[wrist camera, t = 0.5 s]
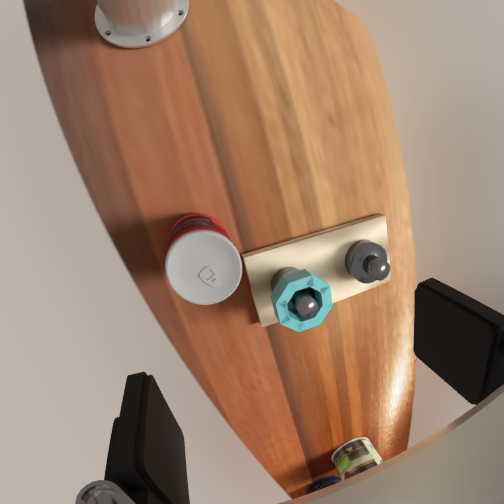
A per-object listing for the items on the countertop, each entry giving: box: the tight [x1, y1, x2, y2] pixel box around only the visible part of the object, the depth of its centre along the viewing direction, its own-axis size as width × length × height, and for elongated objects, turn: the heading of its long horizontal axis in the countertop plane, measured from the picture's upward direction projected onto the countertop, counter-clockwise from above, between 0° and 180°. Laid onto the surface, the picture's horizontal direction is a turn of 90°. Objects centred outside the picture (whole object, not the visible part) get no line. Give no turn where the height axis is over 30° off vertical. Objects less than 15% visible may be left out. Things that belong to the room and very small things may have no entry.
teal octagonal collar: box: [270, 269, 333, 332], centre depth 39 cm, size 7×7×2 cm
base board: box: [242, 214, 390, 327], centre depth 46 cm, size 11×22×2 cm, turn 105°
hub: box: [345, 239, 390, 284], centre depth 44 cm, size 6×6×6 cm
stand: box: [270, 267, 318, 318], centre depth 41 cm, size 5×5×8 cm
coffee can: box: [331, 437, 383, 480], centre depth 57 cm, size 10×10×14 cm
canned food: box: [165, 213, 242, 305], centre depth 37 cm, size 8×8×11 cm
